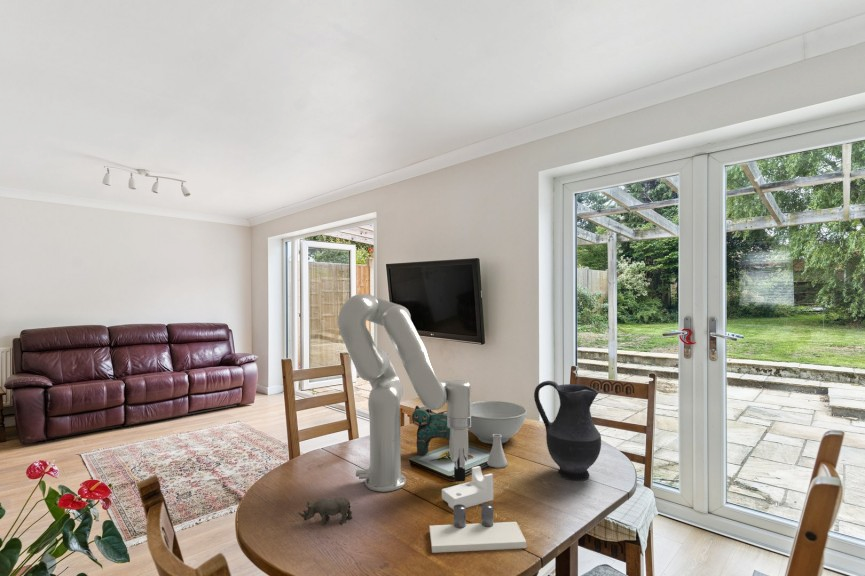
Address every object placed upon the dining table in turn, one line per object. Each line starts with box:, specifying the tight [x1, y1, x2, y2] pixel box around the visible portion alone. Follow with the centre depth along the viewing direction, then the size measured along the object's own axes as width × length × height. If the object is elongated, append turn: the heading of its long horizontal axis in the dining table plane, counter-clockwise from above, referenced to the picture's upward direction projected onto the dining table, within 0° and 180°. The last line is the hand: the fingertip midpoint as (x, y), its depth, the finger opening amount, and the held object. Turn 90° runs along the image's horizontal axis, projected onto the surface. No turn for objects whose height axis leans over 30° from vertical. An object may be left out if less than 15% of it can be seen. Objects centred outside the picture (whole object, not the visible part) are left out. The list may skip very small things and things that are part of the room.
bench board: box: [429, 521, 527, 554], centre depth 108 cm, size 22×9×2 cm, turn 94°
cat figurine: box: [411, 405, 450, 456], centre depth 163 cm, size 20×6×20 cm, turn 72°
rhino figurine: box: [297, 497, 353, 526], centre depth 117 cm, size 4×14×6 cm, turn 96°
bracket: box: [441, 465, 494, 511], centre depth 128 cm, size 13×7×8 cm, turn 119°
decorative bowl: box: [468, 400, 528, 445], centre depth 180 cm, size 27×27×12 cm
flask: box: [486, 434, 509, 468], centre depth 154 cm, size 7×7×10 cm
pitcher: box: [533, 380, 602, 481], centre depth 146 cm, size 17×21×30 cm
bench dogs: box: [453, 502, 494, 528], centre depth 112 cm, size 10×3×6 cm, turn 94°
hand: (459, 480), depth 139 cm, fingers closed
